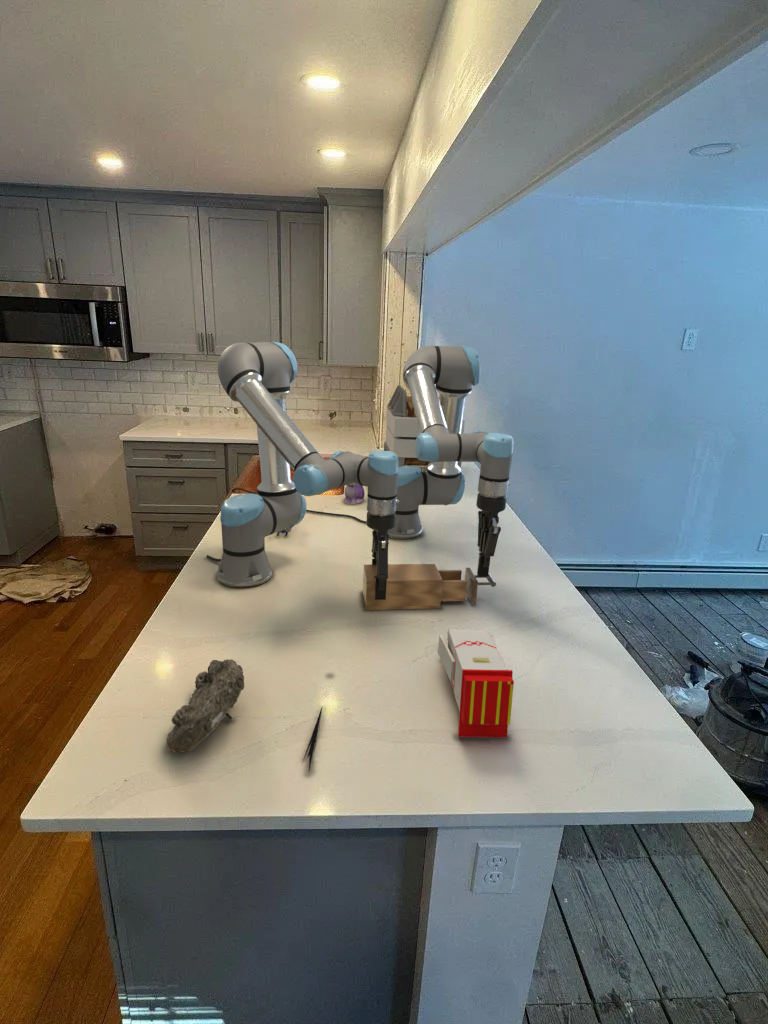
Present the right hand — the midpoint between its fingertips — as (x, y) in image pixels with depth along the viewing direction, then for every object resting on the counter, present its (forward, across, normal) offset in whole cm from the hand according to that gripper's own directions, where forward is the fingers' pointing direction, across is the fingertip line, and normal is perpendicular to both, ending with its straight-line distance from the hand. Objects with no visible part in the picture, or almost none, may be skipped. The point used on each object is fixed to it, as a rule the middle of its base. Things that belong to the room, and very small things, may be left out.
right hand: (482, 575), depth 155 cm
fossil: (+6, -45, +65) cm, 79 cm away
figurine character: (+8, +50, +56) cm, 76 cm away
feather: (+6, -47, +45) cm, 65 cm away
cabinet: (+7, 0, +22) cm, 23 cm away
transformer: (+9, +125, -5) cm, 126 cm away
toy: (+7, -40, +13) cm, 43 cm away
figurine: (+9, +83, +30) cm, 88 cm away
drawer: (+6, 0, +9) cm, 11 cm away
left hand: (+4, 0, +29) cm, 29 cm away
